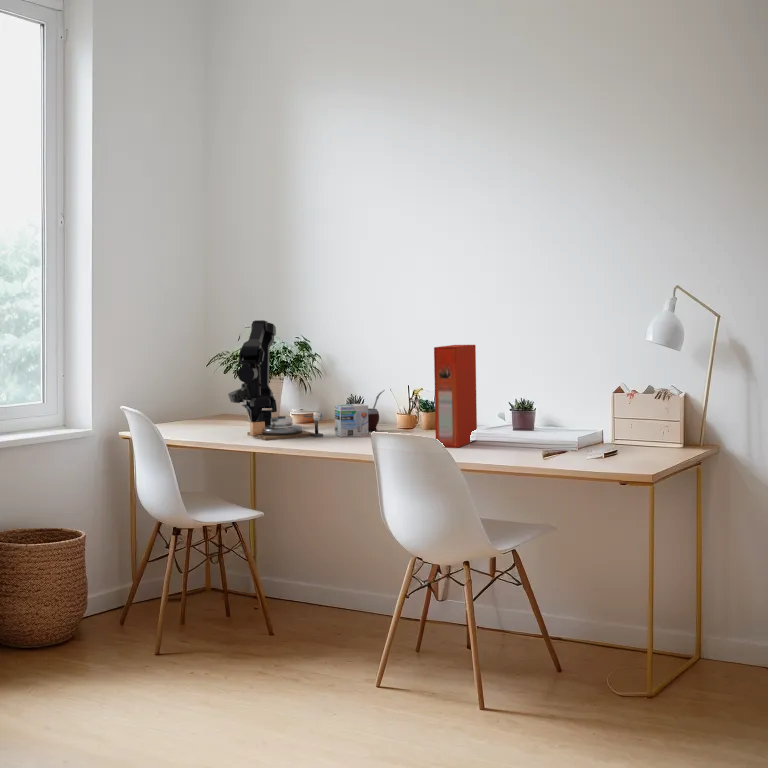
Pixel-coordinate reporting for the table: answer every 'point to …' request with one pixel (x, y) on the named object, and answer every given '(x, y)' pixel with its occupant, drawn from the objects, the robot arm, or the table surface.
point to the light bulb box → (351, 420)
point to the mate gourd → (373, 416)
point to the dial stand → (316, 423)
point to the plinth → (272, 437)
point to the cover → (281, 422)
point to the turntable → (272, 429)
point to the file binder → (455, 394)
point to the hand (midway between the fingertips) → (253, 424)
